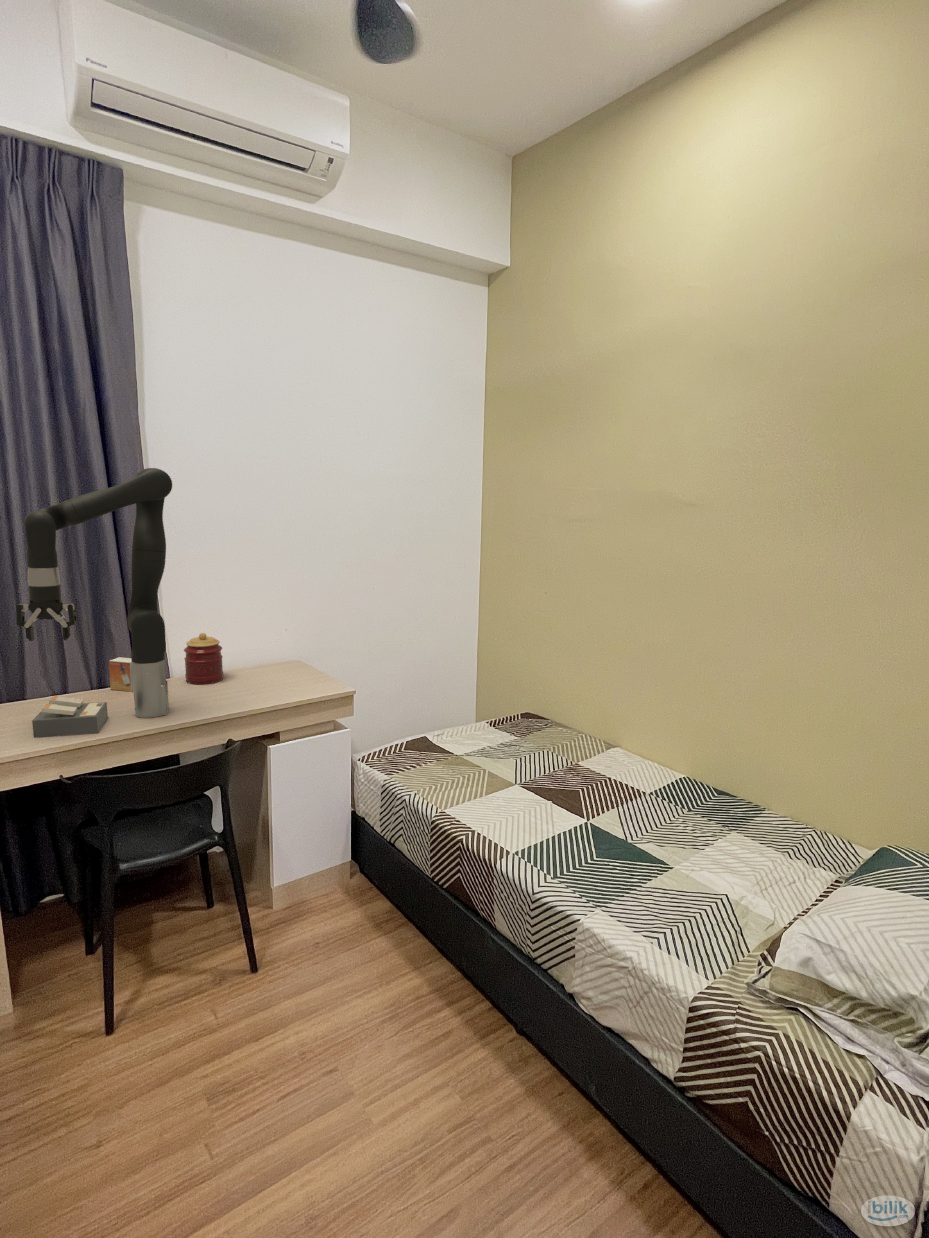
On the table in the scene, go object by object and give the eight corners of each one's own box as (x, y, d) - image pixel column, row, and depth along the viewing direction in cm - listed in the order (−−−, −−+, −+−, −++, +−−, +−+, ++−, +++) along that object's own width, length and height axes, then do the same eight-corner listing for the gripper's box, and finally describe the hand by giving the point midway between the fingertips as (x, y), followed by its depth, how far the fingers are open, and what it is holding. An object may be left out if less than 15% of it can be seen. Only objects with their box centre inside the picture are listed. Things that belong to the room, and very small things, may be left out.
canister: (195, 674, 245) (193, 628, 242) (229, 675, 245) (227, 630, 241) (179, 684, 232) (176, 636, 229) (214, 685, 232) (212, 637, 228)
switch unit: (107, 717, 198) (106, 699, 197) (98, 733, 186) (96, 714, 185) (47, 721, 193) (46, 703, 192) (33, 737, 181) (31, 718, 180)
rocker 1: (82, 703, 194) (83, 699, 194) (79, 707, 191) (80, 703, 190) (52, 699, 191) (53, 695, 191) (48, 703, 188) (49, 699, 188)
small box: (110, 690, 223) (108, 660, 221) (121, 685, 229) (119, 656, 227) (131, 692, 222) (129, 662, 220) (142, 687, 228) (140, 658, 225)
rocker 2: (76, 711, 187) (77, 706, 187) (73, 715, 184) (74, 710, 184) (45, 707, 185) (45, 703, 184) (41, 711, 181) (41, 707, 181)
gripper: (77, 581, 186) (80, 636, 189) (20, 581, 182) (24, 637, 185) (69, 585, 179) (73, 642, 182) (9, 585, 175) (14, 643, 178)
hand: (48, 640), depth 183 cm, fingers open, 8 cm apart
